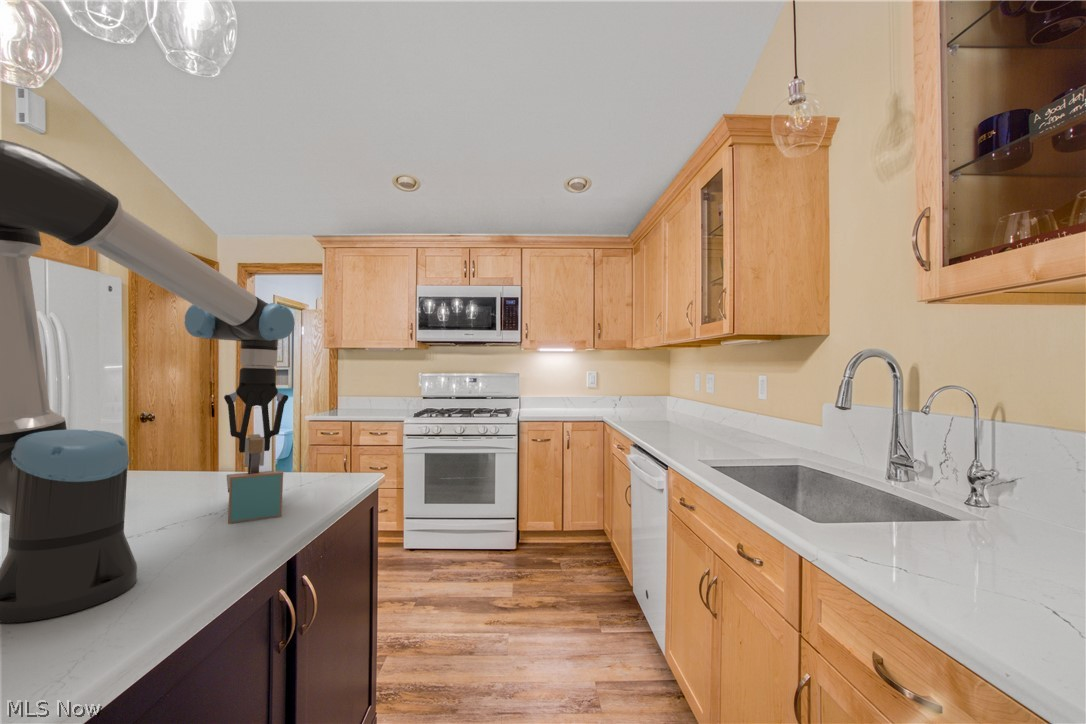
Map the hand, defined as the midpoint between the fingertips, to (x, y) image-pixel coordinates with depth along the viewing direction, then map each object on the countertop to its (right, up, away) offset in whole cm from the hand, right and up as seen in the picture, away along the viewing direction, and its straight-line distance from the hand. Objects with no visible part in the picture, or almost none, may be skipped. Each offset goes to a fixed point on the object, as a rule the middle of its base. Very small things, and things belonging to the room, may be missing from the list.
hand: (253, 465), depth 108 cm
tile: (+5, -10, -8) cm, 14 cm away
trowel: (0, -4, 0) cm, 4 cm away
